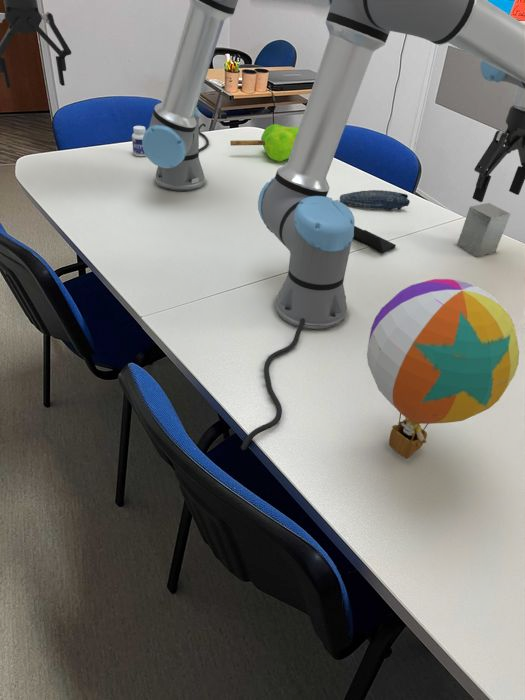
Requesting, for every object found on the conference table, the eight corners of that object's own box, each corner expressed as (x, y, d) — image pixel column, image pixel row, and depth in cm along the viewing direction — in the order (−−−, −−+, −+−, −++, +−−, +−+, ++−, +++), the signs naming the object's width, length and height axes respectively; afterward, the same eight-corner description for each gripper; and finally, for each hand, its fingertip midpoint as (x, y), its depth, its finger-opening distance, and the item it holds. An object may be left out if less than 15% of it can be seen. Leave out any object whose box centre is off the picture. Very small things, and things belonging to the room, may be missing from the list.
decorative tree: (227, 120, 186) (308, 120, 191) (227, 150, 193) (305, 149, 198) (234, 135, 173) (321, 134, 178) (234, 166, 179) (317, 165, 184)
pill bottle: (130, 154, 179) (128, 127, 174) (138, 150, 183) (136, 124, 178) (143, 157, 178) (142, 130, 173) (151, 153, 182) (150, 126, 176)
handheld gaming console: (400, 239, 139) (392, 217, 131) (388, 262, 138) (379, 241, 130) (362, 231, 145) (352, 209, 137) (350, 252, 144) (340, 232, 136)
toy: (318, 439, 84) (351, 278, 65) (393, 389, 94) (440, 239, 76) (417, 524, 73) (492, 360, 54) (489, 457, 83) (573, 301, 65)
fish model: (408, 214, 157) (412, 198, 153) (339, 207, 158) (341, 191, 154) (406, 206, 162) (410, 190, 159) (339, 199, 163) (341, 183, 160)
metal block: (495, 252, 142) (510, 213, 135) (476, 257, 139) (491, 217, 132) (475, 240, 146) (489, 202, 139) (456, 245, 143) (470, 206, 136)
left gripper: (68, -12, 132) (80, 80, 145) (-42, -16, 122) (-18, 83, 135) (75, -8, 127) (87, 86, 140) (-39, -12, 117) (-14, 90, 130)
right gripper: (549, 100, 127) (516, 184, 141) (477, 107, 117) (450, 197, 131) (576, 108, 122) (539, 195, 136) (503, 116, 112) (472, 209, 126)
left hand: (35, 85), depth 138 cm, fingers open, 13 cm apart
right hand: (495, 196), depth 133 cm, fingers open, 13 cm apart
